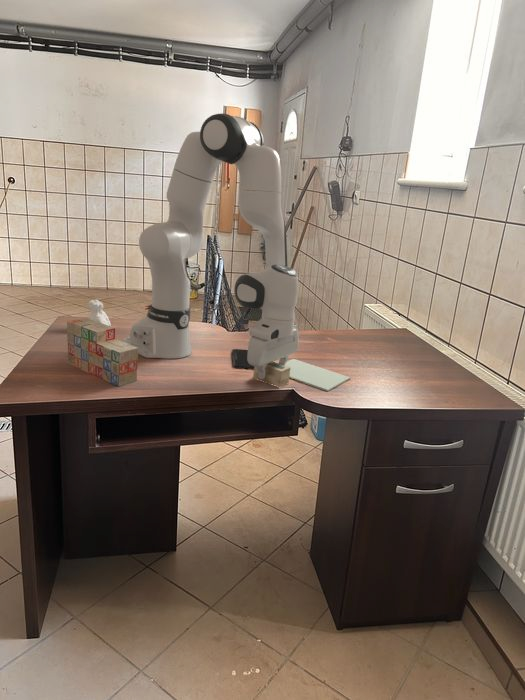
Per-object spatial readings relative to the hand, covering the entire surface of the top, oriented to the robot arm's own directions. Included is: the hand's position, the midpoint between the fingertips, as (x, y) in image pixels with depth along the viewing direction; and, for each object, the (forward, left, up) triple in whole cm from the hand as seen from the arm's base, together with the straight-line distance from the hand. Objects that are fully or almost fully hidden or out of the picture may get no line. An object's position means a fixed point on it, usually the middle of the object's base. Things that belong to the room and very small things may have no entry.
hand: (271, 373), depth 144 cm
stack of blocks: (-34, -31, -2) cm, 46 cm away
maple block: (0, 0, -2) cm, 2 cm away
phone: (-15, +8, -3) cm, 17 cm away
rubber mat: (+5, +13, -2) cm, 14 cm away
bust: (-64, -8, -2) cm, 65 cm away
